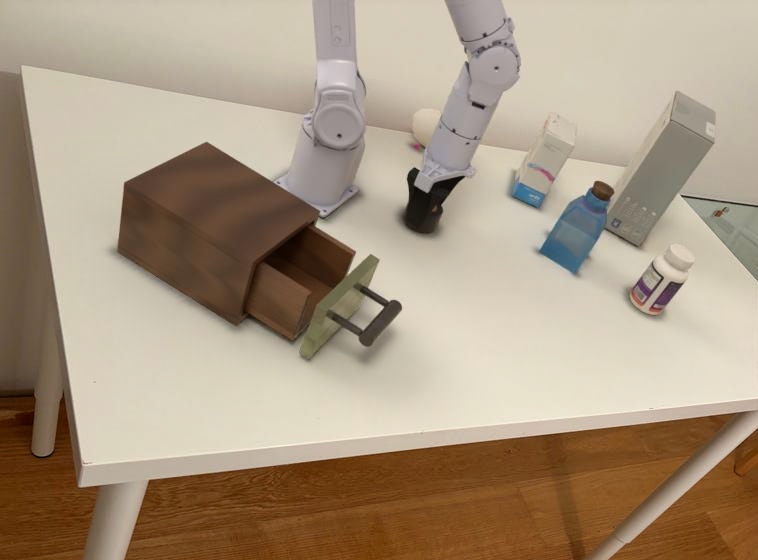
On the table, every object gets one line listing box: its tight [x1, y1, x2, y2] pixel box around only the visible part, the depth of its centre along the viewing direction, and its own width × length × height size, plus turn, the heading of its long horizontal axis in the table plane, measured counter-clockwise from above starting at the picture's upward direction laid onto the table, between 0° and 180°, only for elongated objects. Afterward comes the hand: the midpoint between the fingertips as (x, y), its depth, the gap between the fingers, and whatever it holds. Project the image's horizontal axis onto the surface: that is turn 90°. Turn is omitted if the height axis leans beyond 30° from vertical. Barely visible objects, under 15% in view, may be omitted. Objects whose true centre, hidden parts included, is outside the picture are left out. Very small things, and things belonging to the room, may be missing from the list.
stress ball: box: [411, 107, 442, 151], centre depth 113 cm, size 8×8×7 cm
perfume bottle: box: [538, 180, 615, 275], centre depth 103 cm, size 6×6×12 cm
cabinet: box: [116, 141, 320, 327], centre depth 75 cm, size 15×13×9 cm
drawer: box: [244, 224, 403, 360], centre depth 75 cm, size 18×11×7 cm, turn 66°
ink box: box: [511, 111, 578, 209], centre depth 113 cm, size 9×5×12 cm, turn 168°
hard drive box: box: [604, 90, 717, 247], centre depth 117 cm, size 16×8×20 cm, turn 160°
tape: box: [401, 203, 444, 235], centre depth 97 cm, size 5×5×3 cm
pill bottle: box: [629, 243, 696, 316], centre depth 103 cm, size 5×5×10 cm
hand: (422, 214), depth 97 cm, fingers open, 6 cm apart
